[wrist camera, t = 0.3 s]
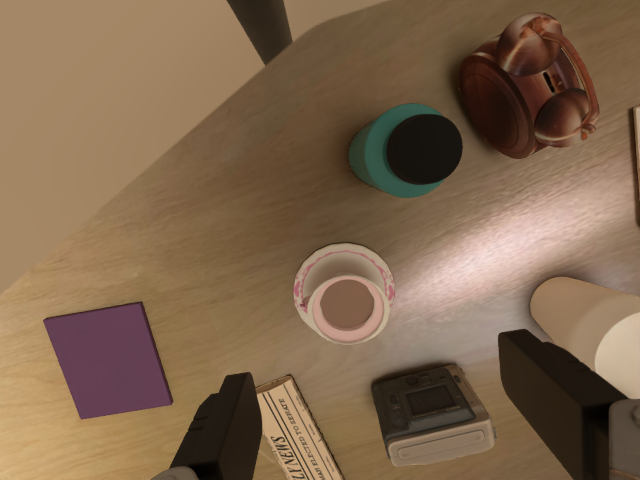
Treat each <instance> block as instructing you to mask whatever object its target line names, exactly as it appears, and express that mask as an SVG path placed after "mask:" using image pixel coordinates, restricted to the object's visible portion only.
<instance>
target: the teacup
mask: <svg viewBox="0 0 640 480" xmlns="http://www.w3.org/2000/svg"><path fill="white" fill-rule="evenodd" d="M293 294H294V302H295V306H296V308H297V310H298V312H299V314H300V316H301V318H302V320H303V321H304V322H305V323H306V324H307V325H308V326H309V327H310V328H311V329H312V330H314V331H316V332H317V333H318V334H319V335H320V336H321V337H323V338H324V339H326V340H328V341H330V342H333V343H337V344H342V345H355V344H360V343H363V342H366V341H368V340H370V339H372V338H374V337H375V336H376V335H378V334H379V333H380V332H381V331H382V330H383V328H384V327H385V325H386V323H387V321H388V319H389V314H390V310H391V308H392V304H393V300H394V296H395V290H394V279H393V277H392V275H391V272H390V270H389V268H388V265H387V264H386V263H385V262H384V261H383V260H382V259H381V258H380V257H379V255H378V254H377V253H375V252H373V251H371V250H369V249H368V248H366V247H364V246H361V245H356V244H351V243H340V244H331V245H328V246H326V247H324V248H322V249H319V250H317V251H315V252H314V253H313V254H312V255H311V256H310V257H309V258H307V259H306V260H305V261H304V262H303V264H302V266H301V267H300V269H299V271H298V273H297V274H296V278H295V283H294V288H293Z"/></svg>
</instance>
